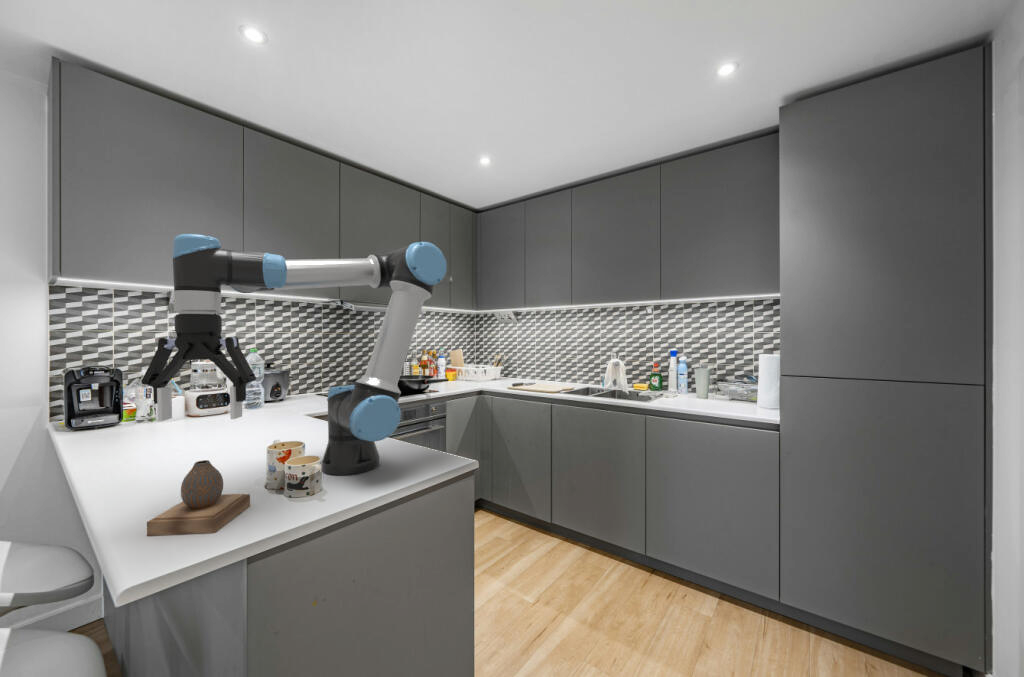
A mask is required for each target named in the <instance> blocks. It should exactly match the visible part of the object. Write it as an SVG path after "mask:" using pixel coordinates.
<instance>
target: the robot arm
mask: <svg viewBox="0 0 1024 677" xmlns="http://www.w3.org/2000/svg"><path fill="white" fill-rule="evenodd" d="M172 247H173V248H172V270H173V311H175V312H178V314H176V315H174V332H175V333H176V338H175V339H174V338H172V337H160V338H159V339H158V341H157V349H156V351H155V353H154V355H153V357H152V359H151V361H150V364H149V365H148V366H147V369H146V371H145V373H144V374H143V377H142V379H141V380H140V381H141V384H142V385H143V386H145V385H146V386H150V387H151V388H153V389H152V393H153V403H154V404H155V405H156V404H157V406H156V407H157V422H164V421H167V420H171V419H173V406H172V404H173V402H172V400H173V398H172V396H173V395H172V386H169V385H170V384H169V383H170V381H171V380H172V379H173V378H174V377H175V376H176V375H177V373H178V372H179V371H180V370H181V369H182V368H183V367H184V365H185V364H186V363H187V362H189V361H197V360H198V361H199V360H200V361H206V360H207V361H208V360H209V361H210V362H212V363H213V364H215V366H216V367H217V368H218V369H219V370H220V371H221V372H222V374H224V375H225V377H227V379H228V380H229V381H230V382H231V383H232V386H229V401H230V402H229V404H230V420H236V419H239V418H242V417H243V402H244V401H246V399H247V385H248V384H250V383H253V382H255V381H256V380H257V377H256V375H255V373H254V371H253V370H252V368H251V366H250V364H249V362H248V360H247V359H246V357H245V355H244V353H243V351H242V350H241V348H240V341H239V338H238V337H236V336H227V337H225V338H222V331H223V326H222V325H223V322H222V319H223V318H222V316H221V315H220V314H219V313H220V312H222V293H221V292H222V290H221V289H222V286H228V287H230V288H231V289H232V290H234V291H236V292H237V293H241V294H251V293H254V292H270V291H283V290H298V289H299V290H300V289H301V290H303V289H317V288H320V289H321V288H334V287H336V288H338V287H354V286H355V287H356V286H370V287H371V288H373V289H384V288H385V289H391V290H392V293H391V297H390V299H389V303H388V304H387V308H386V311H385V314H384V316H383V321H382V324H381V326H380V329H379V332H378V335H377V338H376V341H375V344H374V347H373V350H372V352H371V356H370V358H369V362H368V365H367V367H366V371H365V374H364V376H362V377H360V378H359V379H357V380H356V381H355V383H354V384H350V385H341V386H340V385H339V386H331V387H330V388H329V389H328V392H327V399H326V401H327V426H328V427H327V428H328V430H327V433H328V435H327V436H328V437H327V438H328V439H327V440H328V441H327V444H326V448H325V451H324V454H323V457H322V459H321V471H322V472H323V473H325V474H327V475H331V476H345V475H346V476H347V475H356V474H361V473H366V472H368V471H371V470H373V469H375V468H377V467H378V466H379V465H380V454H379V450H378V448H377V445H376V443H375V442H378V441H384V440H385V439H387V438H388V437H390V436H391V435H392V434H393V433H394V432H395V431H396V430H397V428H398V427H399V425H400V422H401V418H402V411H401V408H400V406H399V400H400V397H401V393H402V391H401V390H400V388H399V386H398V383H399V381H400V378H401V375H402V371H403V368H404V365H405V361H406V359H407V355H408V352H409V350H410V346H411V344H412V340H413V337H414V333H415V331H416V328H417V324H418V321H419V318H420V314H421V311H422V309H423V305H424V302H425V301H426V300H430V299H431V298H432V295H433V292H434V289H435V286H436V285H437V284H440V283H441V281H442V280H443V279H444V278H445V276H446V274H447V268H448V265H447V260H446V257H445V256H444V253H443V252H442V250H441V248H438V246H436V245H435V244H433V243H431V242H429V241H419V242H418V241H417V242H413V243H411V244H409V245H407V246H405V247H401V248H398V249H395V250H393V251H389V252H386V253H381V254H379V253H378V254H369V255H368V256H367V258H315V259H314V258H310V259H302V258H301V259H285V257H284V256H282V255H281V254H274V253H269V252H256V251H244V250H234V249H226V248H222V246H221V241H220V240H219V239H218V238H216V237H213V236H209V235H205V234H198V233H184V234H183V233H182V234H178V235H177V236H175V238H173V246H172ZM222 346H223V347H224V348H225V349H226V351H227V353H228V355H229V357H230V359H231V360H232V363H233V364H232V363H231V362H230V361H229V359H228V358H227V356H226V354H224V352H223V351H222V350H221V348H222ZM175 348H176V349H178V350H177V351H176V352H175V354H174V355H173V356H172V357H171V355H172V353H173V351H174V349H175ZM170 357H171V358H172V360H170V362H169V363H168V360H169V359H170ZM167 363H168V364H167Z"/></svg>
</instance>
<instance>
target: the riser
mask: <svg viewBox="0 0 1024 677" xmlns="http://www.w3.org/2000/svg"><path fill="white" fill-rule="evenodd" d="M250 507H251V494H250V493H248V494H247V493H246V494H245V493H232V494H231V493H230V494H229V493H228V494H227V493H226V494H221V496H220V498H219V499H218V500H217V501H216V502H215V503H214V504H213V505H211V506H208V507H205V508H200V509H192V508H190V507H188V506H186V505H185V504H184V502H183V501H182V502H179V503H178V504H175V506H171V508H169V509H167V510H165V511H164V512H162V513H160V514H159V515H157V516H155V517H154V518H151V519H150V520H148V521H147V522H146V537H152V536H155V537H157V536H172V535H173V536H175V535H176V536H177V535H194V534H195V535H196V534H198V535H199V534H200V535H202V534H215V533H217V532H218V531H219V530H221V529H222V528H224V526H227V525H228V524H229V523H230V522H231V521H233V519H235V518H237V517H238V516H239V515H240V514H242V513H243V512H244V511H245V510H248V508H250Z"/></svg>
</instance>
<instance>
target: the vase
mask: <svg viewBox="0 0 1024 677" xmlns="http://www.w3.org/2000/svg"><path fill="white" fill-rule="evenodd" d="M223 490H224V478H223V476H222V472H220V471H219V469H217V468H216V467H215V466H214V465H213V464H212V463H211V461H210V460H208V459H205V460H198V461H196V462H194V464H193V466H192V468H191V469H190V470H189V471H188V473H187V474H186V475H185V476H184V478H183V480H182V482H181V486H180V497H181V501H182V502H184V504H185V505H186V506H188V507H190V508H192V509H200V508H205V507H208V506H211V505H213V504H214V503H215V502H216V501H217V500H218V499H219V498H220V496H221V495H223Z"/></svg>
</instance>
